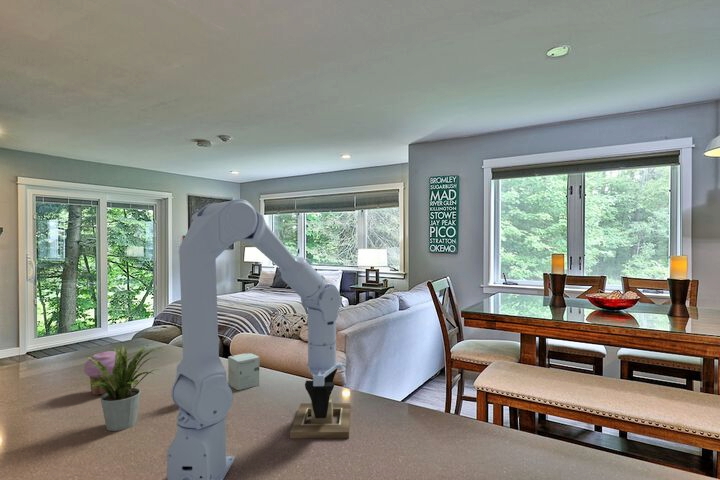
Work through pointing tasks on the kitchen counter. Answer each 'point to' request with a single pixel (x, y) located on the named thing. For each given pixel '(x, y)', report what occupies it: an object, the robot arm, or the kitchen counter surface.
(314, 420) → the beige block with stripe
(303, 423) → the plate
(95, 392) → the cupcake
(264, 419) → the kitchen counter surface
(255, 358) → the skincare box
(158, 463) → the kitchen counter surface
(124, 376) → the house plant
